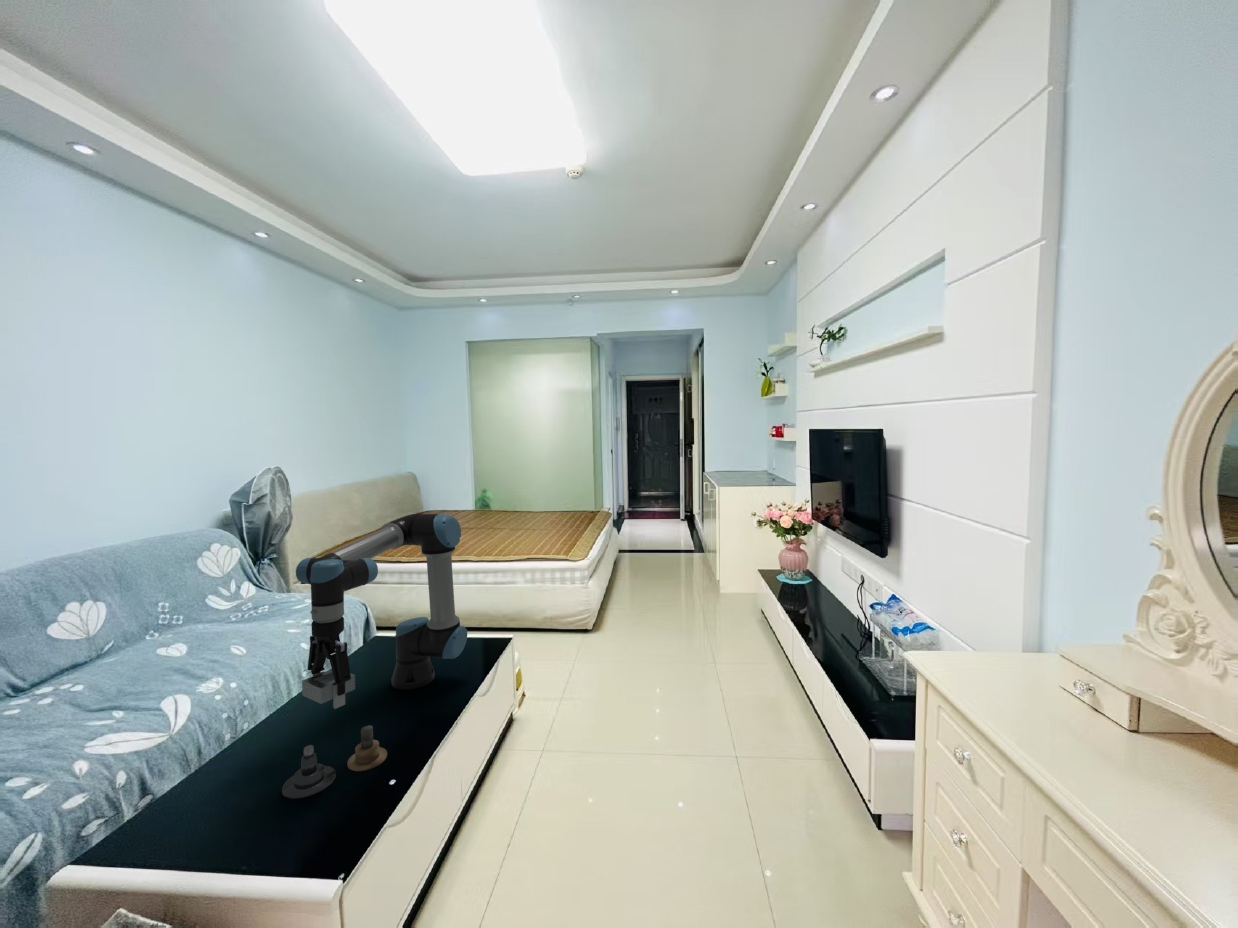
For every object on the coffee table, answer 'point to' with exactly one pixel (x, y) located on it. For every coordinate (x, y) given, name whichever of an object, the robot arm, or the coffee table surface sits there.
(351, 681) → the collar
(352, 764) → the stand
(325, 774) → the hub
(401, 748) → the coffee table surface
